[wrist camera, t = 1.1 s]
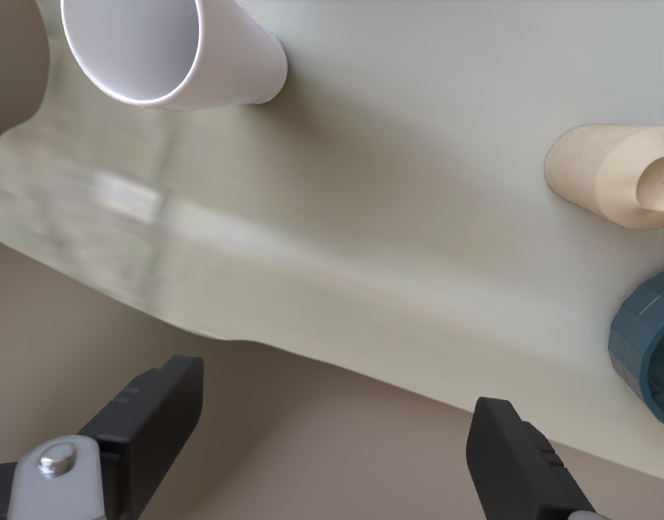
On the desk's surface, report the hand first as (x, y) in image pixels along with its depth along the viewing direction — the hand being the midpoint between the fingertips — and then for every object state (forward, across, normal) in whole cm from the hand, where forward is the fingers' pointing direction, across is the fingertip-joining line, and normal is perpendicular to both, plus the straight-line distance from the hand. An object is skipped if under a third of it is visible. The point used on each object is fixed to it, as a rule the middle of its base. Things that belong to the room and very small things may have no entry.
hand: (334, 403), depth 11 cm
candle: (+21, -16, -9) cm, 28 cm away
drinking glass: (+23, +9, -13) cm, 28 cm away
